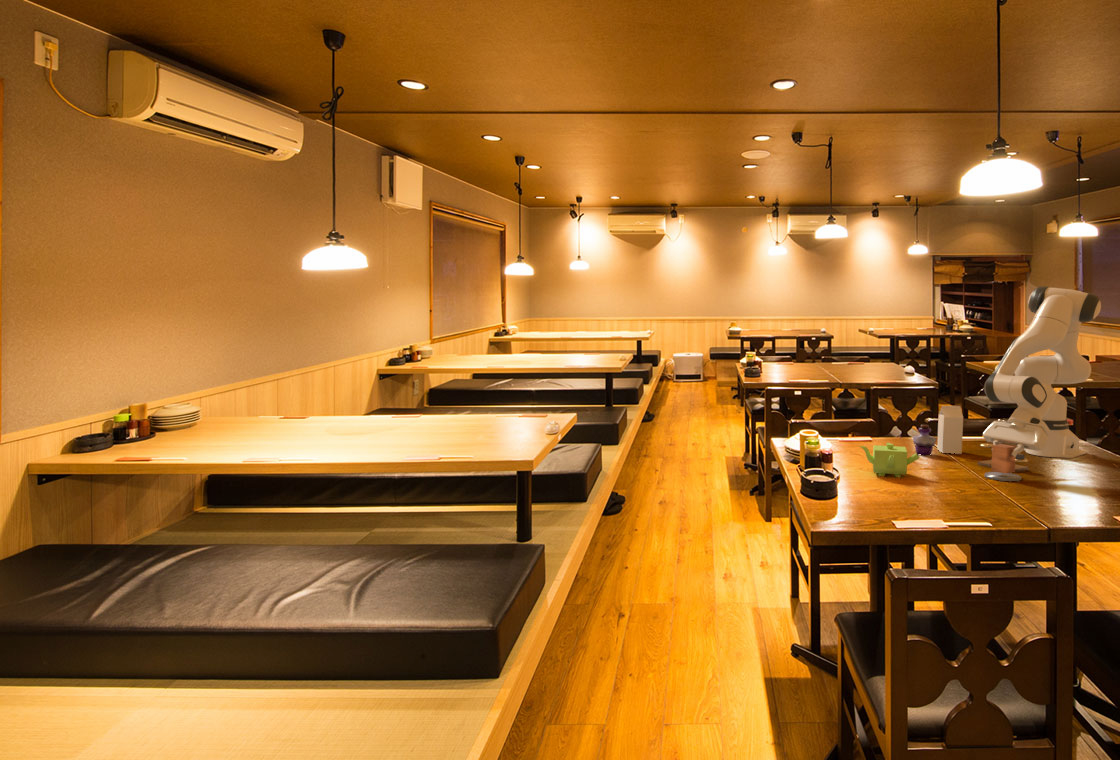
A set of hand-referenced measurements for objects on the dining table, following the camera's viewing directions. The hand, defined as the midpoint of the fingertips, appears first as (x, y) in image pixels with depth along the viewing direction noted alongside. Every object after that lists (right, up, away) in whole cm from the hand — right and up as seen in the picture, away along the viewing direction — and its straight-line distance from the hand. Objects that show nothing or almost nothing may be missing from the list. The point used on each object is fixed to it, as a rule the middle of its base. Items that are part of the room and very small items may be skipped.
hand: (1002, 453), depth 253 cm
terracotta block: (+1, -6, +1) cm, 6 cm away
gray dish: (+1, -9, +1) cm, 9 cm away
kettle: (-36, -9, +9) cm, 38 cm away
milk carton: (+4, -4, +43) cm, 43 cm away
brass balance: (+10, -7, +16) cm, 20 cm away
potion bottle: (-8, -5, +40) cm, 41 cm away
